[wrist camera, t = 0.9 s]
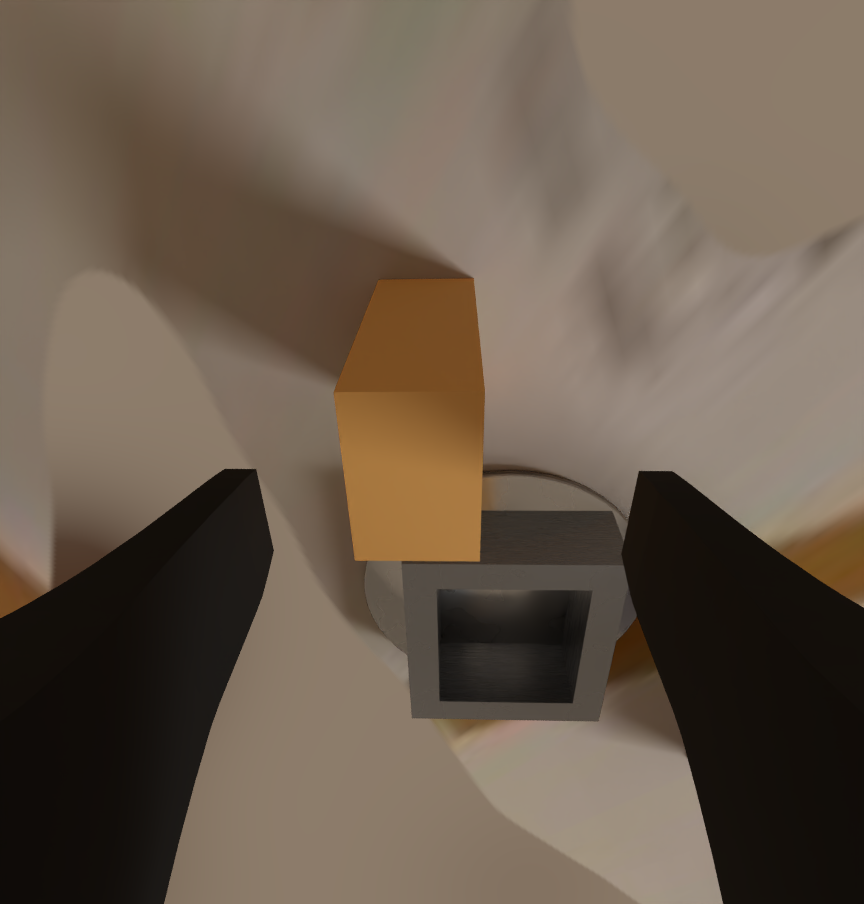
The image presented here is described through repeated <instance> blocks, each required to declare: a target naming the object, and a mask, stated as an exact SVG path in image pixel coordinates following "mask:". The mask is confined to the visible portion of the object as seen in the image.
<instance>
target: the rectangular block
mask: <svg viewBox="0 0 864 904" xmlns="http://www.w3.org/2000/svg"><path fill="white" fill-rule="evenodd" d="M334 399H335V407H336V415H337V423H338V431H339V439H340V446H341V454H342V462H343V470H344V478H345V486H346V494H347V502H348V510H349V518H350V526H351V534H352V542H353V549H354V557H355V561H480V539H481V505H482V471H483V437H484V403H485V388H484V378H483V368H482V358H481V348H480V338H479V328H478V318H477V307H476V297H475V287H474V278H458V279H383V280H378V282H377V285H376V287H375V290H374V292H373V295H372V297H371V300H370V302H369V305H368V307H367V310H366V312H365V315H364V317H363V320H362V322H361V325H360V327H359V330H358V332H357V335H356V337H355V340H354V342H353V345H352V347H351V350H350V353H349V355H348V358H347V360H346V363H345V365H344V368H343V370H342V373H341V375H340V378H339V380H338V383H337V385H336V388H335V390H334Z"/></svg>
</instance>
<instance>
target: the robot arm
mask: <svg viewBox="0 0 864 904" xmlns="http://www.w3.org/2000/svg"><path fill="white" fill-rule="evenodd" d="M273 551H274V550H273V545H272V540H271V536H270V531H269V526H268V522H267V518H266V513H265V508H264V504H263V499H262V494H261V489H260V485H259V480H258V476H257V471H256V469H224V470H222V471H221V472H219V473H218V474H217V475H215V476H214V477H212V478H211V479H210V480H208V481H207V482H205V483H204V484H203V485H201V486H200V487H199V488H197V489H196V490H195V491H194V492H192V493H191V494H190V495H188V496H187V497H186V498H184V499H183V500H182V501H181V502H179V503H178V504H177V505H175V506H174V507H173V508H171V509H170V510H169V511H167V512H166V513H165V514H163V515H162V516H161V517H159V518H158V519H157V520H155V521H154V522H153V523H151V524H150V525H149V526H147V527H146V528H145V529H143V530H142V531H141V532H139V533H138V534H136V535H135V536H133V537H132V538H131V539H129V540H128V541H126V542H125V543H123V544H122V545H120V546H119V547H117V548H116V549H115V550H113V551H112V552H110V553H109V554H107V555H106V556H104V557H103V558H101V559H100V560H99V561H97V562H96V563H94V564H93V565H91V566H90V567H88V568H87V569H85V570H84V571H82V572H80V573H79V574H77V575H76V576H74V577H72V578H71V579H69V580H68V581H66V582H64V583H63V584H61V585H60V586H58V587H56V588H54V589H53V590H51V591H49V592H47V593H46V594H44V595H42V596H41V597H39V598H37V599H35V600H34V601H32V602H30V603H28V604H27V605H25V606H23V607H21V608H19V609H18V610H16V611H14V612H12V613H10V614H8V615H6V616H4V617H2V618H0V904H164V901H165V897H166V893H167V888H168V885H169V880H170V876H171V872H172V868H173V864H174V860H175V856H176V852H177V848H178V843H179V839H180V836H181V832H182V828H183V824H184V821H185V817H186V813H187V810H188V806H189V802H190V799H191V795H192V791H193V787H194V783H195V780H196V776H197V773H198V770H199V766H200V763H201V759H202V756H203V753H204V749H205V745H206V742H207V738H208V735H209V732H210V729H211V726H212V723H213V720H214V717H215V714H216V712H217V709H218V706H219V703H220V701H221V698H222V696H223V693H224V691H225V688H226V686H227V683H228V681H229V678H230V676H231V673H232V671H233V669H234V666H235V664H236V661H237V659H238V656H239V654H240V651H241V649H242V646H243V644H244V642H245V639H246V637H247V634H248V632H249V629H250V627H251V624H252V622H253V619H254V617H255V614H256V612H257V609H258V606H259V604H260V601H261V599H262V596H263V591H264V588H265V584H266V581H267V577H268V573H269V568H270V564H271V560H272V556H273ZM621 555H622V560H623V565H624V569H625V574H626V579H627V583H628V587H629V591H630V595H631V599H632V603H633V606H634V608H635V611H636V614H637V617H638V619H639V622H640V625H641V627H642V630H643V633H644V635H645V638H646V641H647V643H648V646H649V649H650V651H651V654H652V657H653V659H654V662H655V664H656V667H657V670H658V672H659V675H660V678H661V680H662V683H663V685H664V688H665V691H666V693H667V696H668V698H669V701H670V704H671V706H672V709H673V712H674V715H675V718H676V721H677V724H678V727H679V730H680V733H681V736H682V739H683V743H684V746H685V750H686V754H687V758H688V761H689V765H690V769H691V772H692V776H693V780H694V784H695V787H696V791H697V795H698V799H699V803H700V807H701V811H702V815H703V819H704V823H705V827H706V831H707V835H708V839H709V843H710V848H711V852H712V856H713V860H714V864H715V869H716V873H717V878H718V882H719V887H720V891H721V896H722V900H723V904H864V608H863V607H861V606H860V605H858V604H856V603H855V602H853V601H851V600H850V599H848V598H846V597H845V596H843V595H841V594H840V593H838V592H837V591H835V590H833V589H832V588H830V587H829V586H827V585H826V584H824V583H822V582H821V581H819V580H818V579H816V578H815V577H813V576H812V575H811V574H809V573H808V572H806V571H805V570H803V569H802V568H800V567H799V566H797V565H796V564H795V563H793V562H792V561H790V560H789V559H787V558H786V557H784V556H783V555H782V554H780V553H779V552H777V551H776V550H775V549H773V548H772V547H771V546H769V545H768V544H766V543H765V542H764V541H762V540H761V539H760V538H758V537H757V536H756V535H754V534H753V533H752V532H750V531H749V530H748V529H746V528H745V527H744V526H743V525H741V524H740V523H739V522H737V521H736V520H735V519H734V518H732V517H731V516H730V515H728V514H727V513H726V512H725V511H723V510H722V509H721V508H720V507H718V506H717V505H716V504H715V503H713V502H712V501H711V500H709V499H708V498H707V497H706V496H704V495H703V494H702V493H701V492H699V491H698V490H697V489H696V488H694V487H693V486H692V485H690V484H689V483H688V482H687V481H685V480H684V479H683V478H681V477H680V476H678V475H677V474H676V473H674V472H673V471H639V473H638V478H637V483H636V487H635V492H634V497H633V501H632V506H631V511H630V515H629V520H628V525H627V529H626V534H625V539H624V544H623V548H622V553H621Z"/></svg>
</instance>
